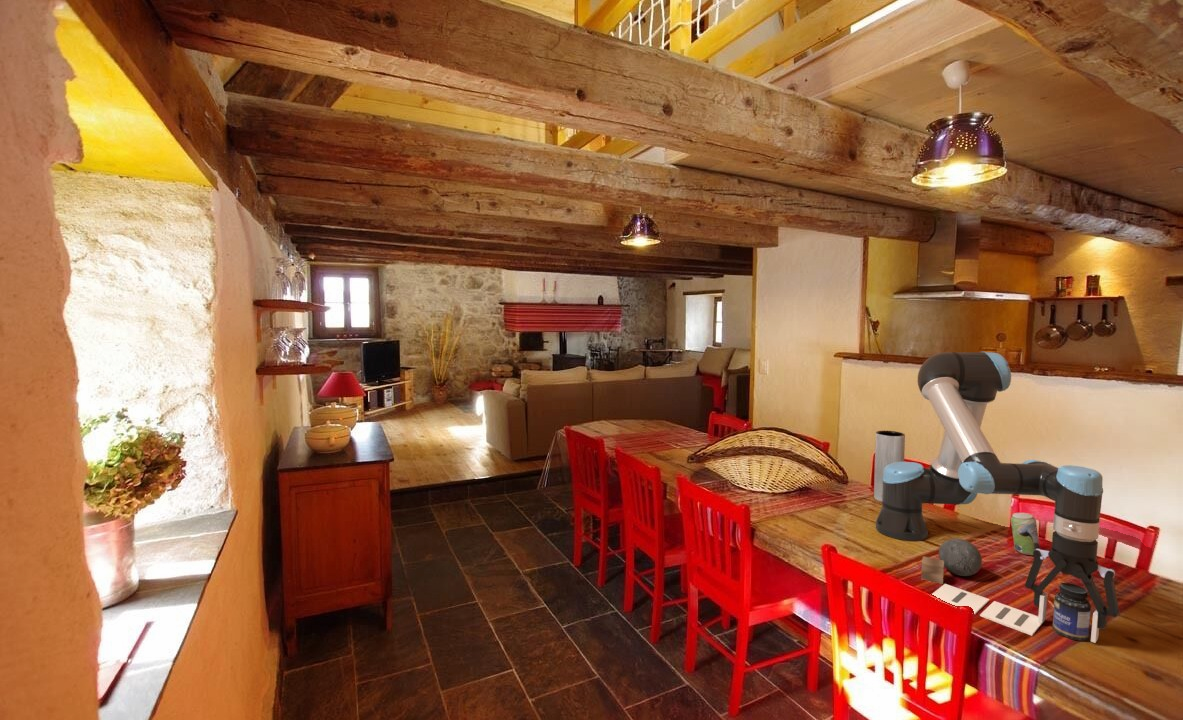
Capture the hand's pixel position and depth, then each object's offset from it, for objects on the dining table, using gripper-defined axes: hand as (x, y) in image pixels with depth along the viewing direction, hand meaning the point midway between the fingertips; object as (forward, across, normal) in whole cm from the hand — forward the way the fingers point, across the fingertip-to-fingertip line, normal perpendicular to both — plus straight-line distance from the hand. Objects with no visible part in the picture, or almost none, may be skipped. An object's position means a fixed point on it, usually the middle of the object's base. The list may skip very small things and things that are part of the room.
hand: (1067, 629), depth 119 cm
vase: (+2, -66, +59) cm, 88 cm away
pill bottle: (+1, +1, 0) cm, 1 cm away
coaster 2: (+1, -9, -3) cm, 10 cm away
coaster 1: (+1, -20, -3) cm, 21 cm away
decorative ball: (+1, -25, +12) cm, 28 cm away
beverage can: (+1, -18, +43) cm, 47 cm away
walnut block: (+1, -29, +3) cm, 29 cm away
